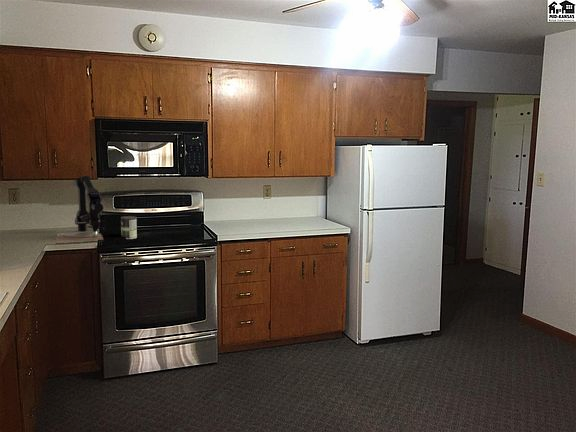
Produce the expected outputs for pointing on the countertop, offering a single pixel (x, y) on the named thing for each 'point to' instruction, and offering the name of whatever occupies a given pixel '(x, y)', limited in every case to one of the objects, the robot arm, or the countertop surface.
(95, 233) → the tong arm
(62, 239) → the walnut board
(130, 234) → the coffee can
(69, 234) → the base
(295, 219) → the countertop surface
